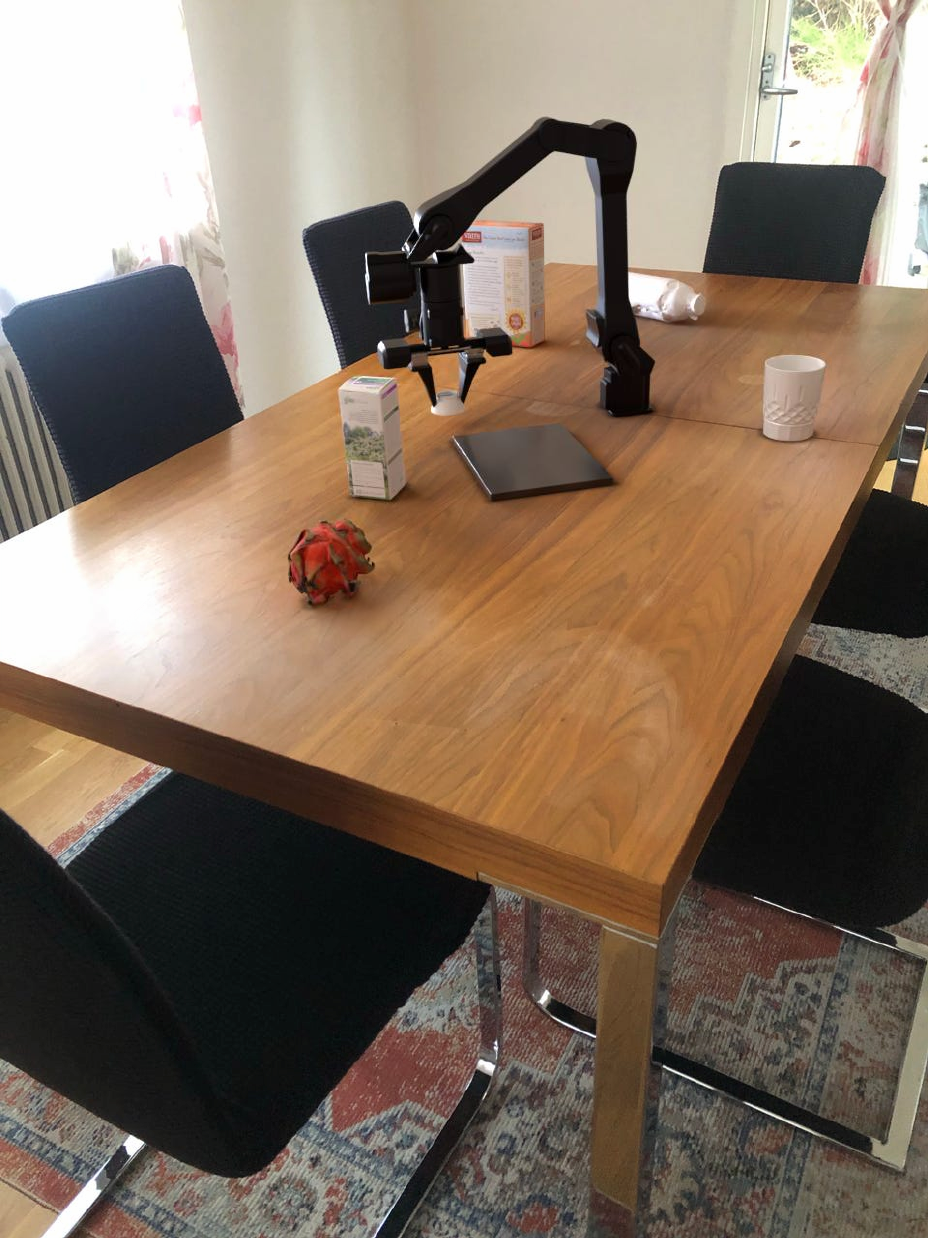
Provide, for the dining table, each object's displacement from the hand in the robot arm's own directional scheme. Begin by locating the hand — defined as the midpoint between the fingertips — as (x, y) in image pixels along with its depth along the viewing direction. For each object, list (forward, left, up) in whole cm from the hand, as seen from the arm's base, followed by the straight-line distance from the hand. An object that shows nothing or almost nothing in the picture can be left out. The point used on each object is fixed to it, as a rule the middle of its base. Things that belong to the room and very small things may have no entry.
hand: (448, 405), depth 153 cm
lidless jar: (0, 0, -1) cm, 1 cm away
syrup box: (+14, +21, -3) cm, 25 cm away
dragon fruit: (+23, +47, -3) cm, 52 cm away
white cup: (-44, +20, -3) cm, 48 cm away
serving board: (-7, +18, -3) cm, 20 cm away
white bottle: (-52, -46, -3) cm, 70 cm away
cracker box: (-20, -42, -3) cm, 47 cm away
